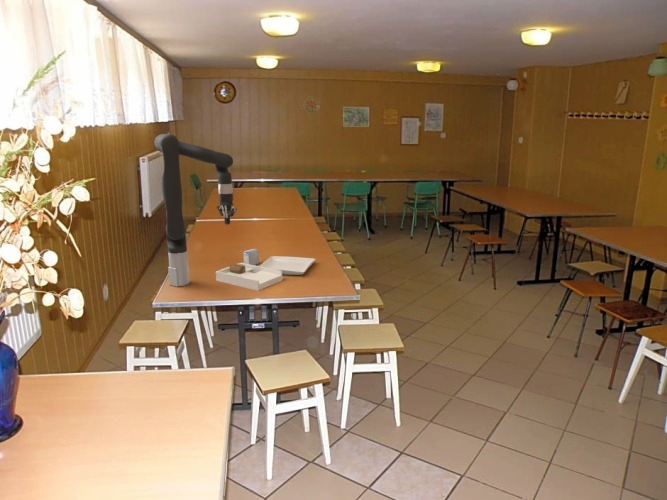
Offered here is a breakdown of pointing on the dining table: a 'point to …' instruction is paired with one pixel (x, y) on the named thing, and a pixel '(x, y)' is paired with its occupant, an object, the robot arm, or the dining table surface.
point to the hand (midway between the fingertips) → (227, 224)
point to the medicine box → (251, 256)
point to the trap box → (250, 277)
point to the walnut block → (237, 269)
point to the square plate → (288, 264)
